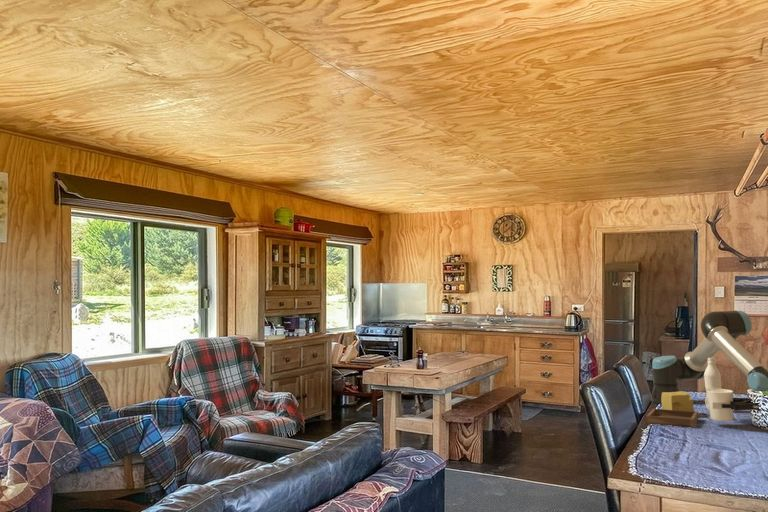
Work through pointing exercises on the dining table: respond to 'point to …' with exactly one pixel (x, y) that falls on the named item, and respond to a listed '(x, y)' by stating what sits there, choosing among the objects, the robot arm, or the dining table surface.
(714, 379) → the water bottle
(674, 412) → the walnut crate
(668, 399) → the cheese
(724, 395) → the cream cup
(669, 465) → the dining table surface
